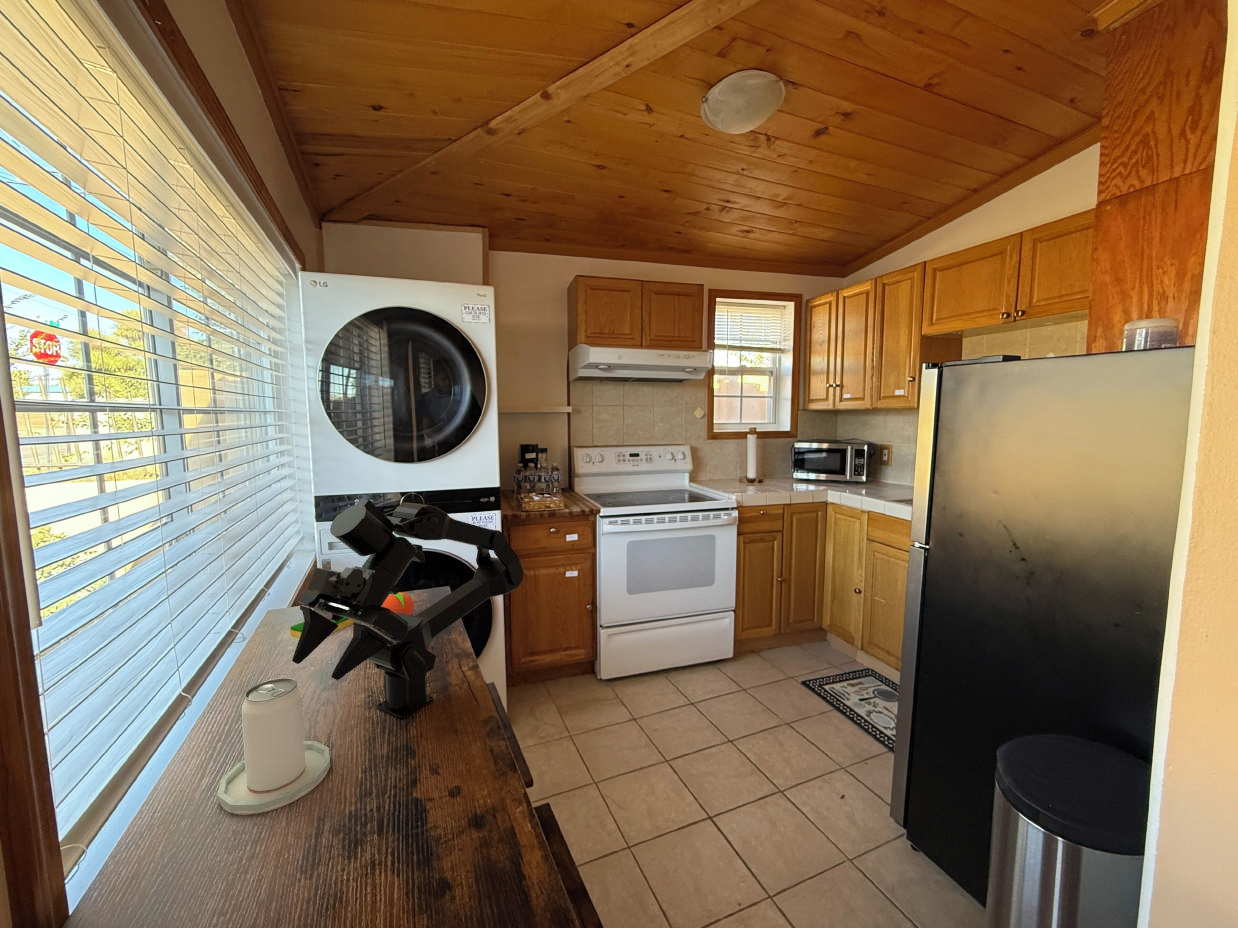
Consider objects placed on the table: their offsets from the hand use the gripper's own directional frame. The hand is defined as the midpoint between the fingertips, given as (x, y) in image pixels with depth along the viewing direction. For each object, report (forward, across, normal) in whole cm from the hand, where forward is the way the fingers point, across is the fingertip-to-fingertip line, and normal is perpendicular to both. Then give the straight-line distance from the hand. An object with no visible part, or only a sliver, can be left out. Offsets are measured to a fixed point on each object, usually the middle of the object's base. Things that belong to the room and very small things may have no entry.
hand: (313, 670), depth 70 cm
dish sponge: (-10, -42, +29) cm, 52 cm away
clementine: (-17, -30, +35) cm, 49 cm away
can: (+12, 0, +5) cm, 13 cm away
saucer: (+13, 0, +5) cm, 14 cm away
